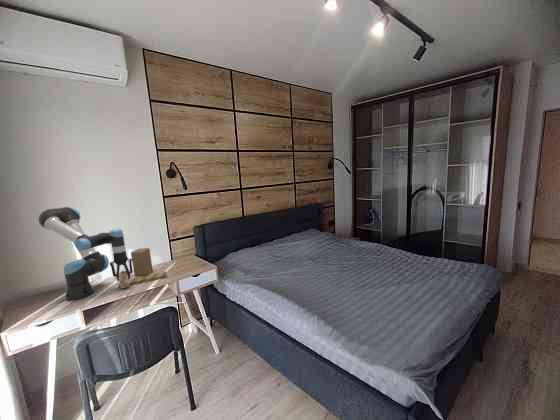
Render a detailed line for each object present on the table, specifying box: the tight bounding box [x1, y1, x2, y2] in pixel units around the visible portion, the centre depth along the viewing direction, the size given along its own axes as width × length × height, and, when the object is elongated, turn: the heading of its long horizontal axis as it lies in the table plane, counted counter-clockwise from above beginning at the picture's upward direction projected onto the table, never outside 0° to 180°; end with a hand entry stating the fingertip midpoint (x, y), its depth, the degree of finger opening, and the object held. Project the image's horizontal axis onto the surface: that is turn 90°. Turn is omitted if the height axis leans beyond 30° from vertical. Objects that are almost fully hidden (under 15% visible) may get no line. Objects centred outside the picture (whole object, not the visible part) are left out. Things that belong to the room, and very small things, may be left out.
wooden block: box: [130, 248, 154, 277], centre depth 204 cm, size 10×10×20 cm
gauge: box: [119, 270, 129, 289], centre depth 181 cm, size 4×12×11 cm, turn 25°
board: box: [118, 271, 168, 289], centre depth 190 cm, size 31×9×2 cm, turn 115°
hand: (124, 284), depth 178 cm, fingers closed on gauge, 4 cm apart
